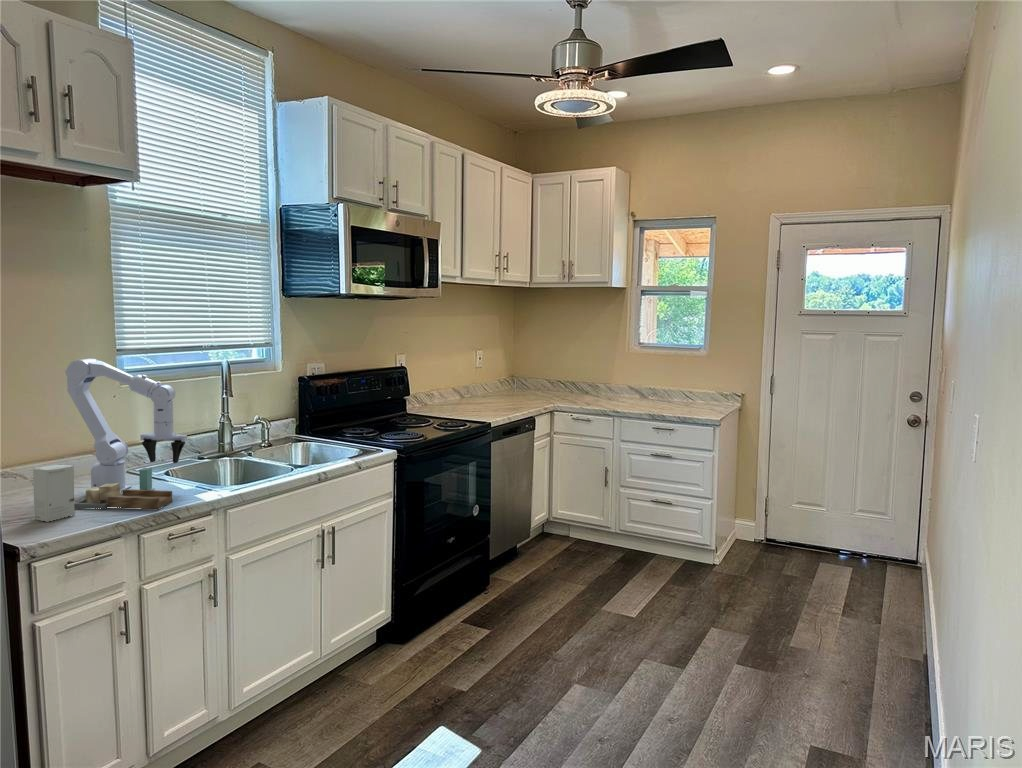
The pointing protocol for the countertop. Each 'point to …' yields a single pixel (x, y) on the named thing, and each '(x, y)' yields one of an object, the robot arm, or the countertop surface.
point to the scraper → (145, 479)
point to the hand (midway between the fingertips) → (164, 462)
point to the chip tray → (91, 504)
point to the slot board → (141, 499)
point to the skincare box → (53, 492)
